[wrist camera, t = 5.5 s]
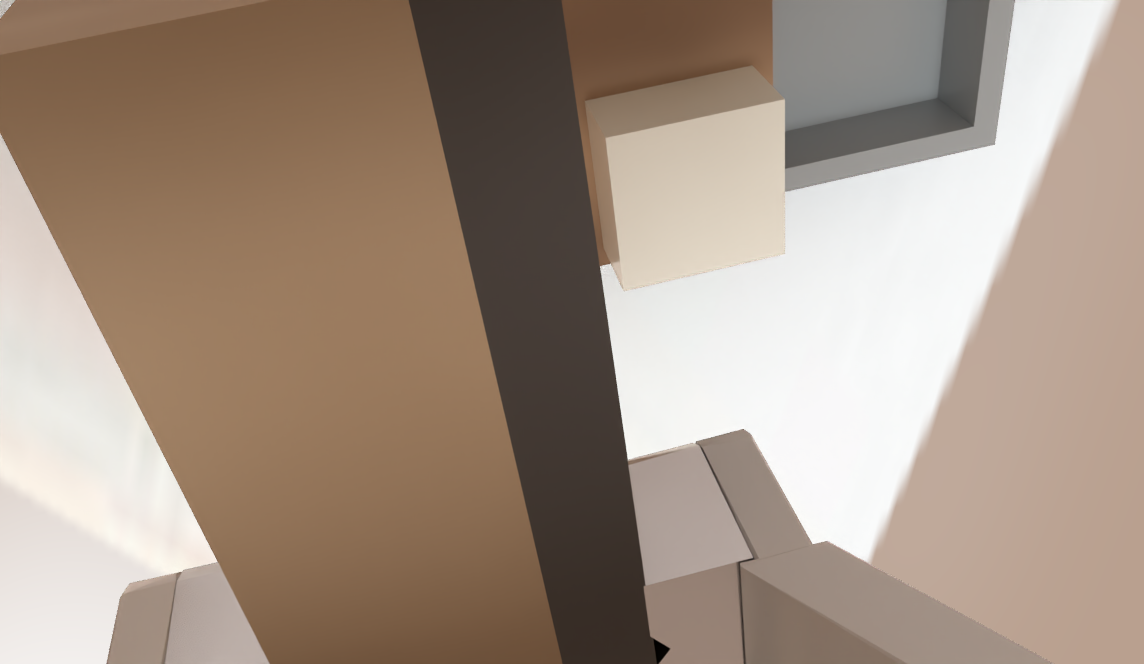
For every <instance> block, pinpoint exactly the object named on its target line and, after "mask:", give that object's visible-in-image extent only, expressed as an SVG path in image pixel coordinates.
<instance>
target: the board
mask: <svg viewBox="0 0 1144 664" xmlns="http://www.w3.org/2000/svg"><path fill="white" fill-rule="evenodd" d="M562 7H563V14H564V21H565V27H566V34H567V41H568V48H569V55H570V62H571V69H572V76H573V83H574V90H575V97H576V104H577V111H578V118H579V125H580V132H581V139H582V146H583V153H584V160H585V167H586V174H587V181H588V188H589V195H590V201H591V208H592V215H593V222H594V229H595V236H596V243H597V250H598V257H599V264H600V266H602V265H606V264H611V263H610V261H609V259H608V256H607V254H606V252H605V250H604V247H603V239H602V231H601V224H600V216H599V208H598V200H597V192H596V185H595V177H594V169H593V161H592V154H591V146H590V138H589V130H588V122H587V115H586V107H585V101H587V100H592V99H596V98H601V97H606V96H610V95H615V94H620V93H625V92H629V91H634V90H639V89H643V88H648V87H653V86H657V85H662V84H667V83H672V82H676V81H681V80H686V79H690V78H695V77H700V76H704V75H709V74H714V73H719V72H723V71H728V70H733V69H737V68H742V67H747V66H751V65H752V66H753V67H754V68H755V69H756V70H757V71H758V72H759V73H760V74H761V75H762V76H763V77H764V78H765V79H766V80H767V81H768V82H769V83H770V84H771V85H772V86H773V11H772V0H562Z"/></svg>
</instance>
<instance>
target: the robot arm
mask: <svg viewBox="0 0 1144 664" xmlns="http://www.w3.org/2000/svg"><path fill="white" fill-rule="evenodd" d="M628 466H629V473H630V480H631V487H632V494H633V501H634V508H635V515H636V522H637V529H638V536H639V543H640V550H641V556H642V563H643V570H644V577H645V584H646V585H645V586H643V587H644V594H645V601H646V609H647V616H648V623H649V630H650V637H652V638H653V640H654V647H655V654H656V661H657V664H1054V663H1052V662H1050V661H1048V660H1047V659H1045V658H1043V657H1041V656H1039V655H1037V654H1036V653H1034V652H1032V651H1030V650H1028V649H1026V648H1024V647H1023V646H1021V645H1019V644H1017V643H1015V642H1013V641H1011V640H1010V639H1008V638H1006V637H1004V636H1002V635H1000V634H998V633H997V632H995V631H993V630H991V629H989V628H987V627H985V626H984V625H982V624H980V623H978V622H976V621H975V620H973V619H971V618H969V617H967V616H965V615H963V614H962V613H960V612H958V611H956V610H954V609H952V608H950V607H948V606H947V605H945V604H943V603H941V602H939V601H938V600H936V599H934V598H932V597H930V596H928V595H926V594H925V593H923V592H921V591H919V590H917V589H915V588H913V587H912V586H910V585H908V584H906V583H904V582H902V581H900V580H899V579H897V578H894V577H893V576H891V575H889V574H888V573H886V572H884V571H882V570H880V569H878V568H877V567H875V566H873V565H871V564H869V563H867V562H865V561H864V560H862V559H860V558H858V557H856V556H854V555H853V554H851V553H849V552H847V551H845V550H843V549H841V548H840V547H838V546H836V545H834V544H832V543H830V542H828V541H825V542H821V543H817V544H812V542H811V541H810V539H809V537H808V535H807V534H806V532H805V530H804V528H803V526H802V525H801V523H800V521H799V519H798V517H797V516H796V514H795V512H794V510H793V508H792V507H791V505H790V503H789V501H788V500H787V498H786V496H785V494H784V492H783V491H782V489H781V487H780V485H779V483H778V482H777V480H776V478H775V476H774V474H773V473H772V471H771V469H770V467H769V466H768V464H767V462H766V460H765V458H764V457H763V455H762V453H761V451H760V449H759V448H758V446H757V444H756V442H755V440H754V439H753V437H752V435H751V434H750V433H748V432H747V431H746V430H744V429H741V430H738V431H734V432H730V433H726V434H723V435H719V436H715V437H711V438H708V439H704V440H700V441H696V444H694V443H690V444H686V445H682V446H679V447H675V448H671V449H667V450H663V451H659V452H656V453H652V454H648V455H644V456H640V457H637V458H633V459H629V460H628ZM107 664H269V662H268V660H267V658H266V656H265V654H264V652H263V650H262V648H261V646H260V644H259V642H258V640H257V638H256V636H255V634H254V632H253V630H252V628H251V626H250V624H249V622H248V620H247V618H246V616H245V614H244V613H243V611H242V609H241V607H240V605H239V603H238V601H237V599H236V597H235V595H234V593H233V591H232V589H231V587H230V585H229V583H228V581H227V579H226V577H225V575H224V573H223V571H222V569H221V567H220V565H219V563H218V562H216V563H212V564H208V565H203V566H199V567H194V568H190V569H186V570H183V572H178V573H174V574H169V575H165V576H160V577H156V578H151V579H147V580H142V581H137V582H133V583H130V584H129V585H128V587H127V588H126V589H125V591H124V593H123V594H122V596H121V597H120V601H119V606H118V610H117V615H116V620H115V625H114V630H113V635H112V639H111V644H110V649H109V654H108V659H107Z"/></svg>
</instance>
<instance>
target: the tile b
mask: <svg viewBox="0 0 1144 664" xmlns="http://www.w3.org/2000/svg"><path fill="white" fill-rule="evenodd" d="M585 107H586V115H587V122H588V130H589V138H590V146H591V154H592V161H593V169H594V177H595V185H596V192H597V200H598V208H599V216H600V224H601V231H602V239H603V247H604V250H605V252H606V254H607V256H608V259H609V261H610V263H611V265H612V267H613V269H614V272H615V274H616V276H617V278H618V280H619V282H620V285H621V287H622V289H623V291H627V290H631V289H636V288H640V287H644V286H649V285H653V284H657V283H662V282H666V281H670V280H674V279H679V278H683V277H687V276H692V275H696V274H700V273H705V272H709V271H713V270H718V269H722V268H726V267H731V266H735V265H739V264H744V263H748V262H752V261H756V260H761V259H765V258H769V257H774V256H778V255H782V254H785V99H784V98H783V97H782V96H781V95H780V94H779V93H778V92H777V90H776V89H775V88H774V87H773V86H772V85H771V84H770V83H769V82H768V81H767V80H766V79H765V78H764V77H763V76H762V75H761V74H760V73H759V72H758V71H757V70H756V69H755V68H754V67H753V66H752V65H751V66H747V67H742V68H737V69H733V70H728V71H723V72H719V73H714V74H709V75H704V76H700V77H695V78H690V79H686V80H681V81H676V82H672V83H667V84H662V85H657V86H653V87H648V88H643V89H639V90H634V91H629V92H625V93H620V94H615V95H610V96H606V97H601V98H596V99H592V100H587V101H585Z"/></svg>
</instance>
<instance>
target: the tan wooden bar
mask: <svg viewBox="0 0 1144 664" xmlns="http://www.w3.org/2000/svg"><path fill="white" fill-rule="evenodd" d="M0 133H1V135H2V137H3V139H4V141H5V143H6V145H7V147H8V149H9V151H10V153H11V155H12V157H13V159H14V161H15V163H16V165H17V167H18V169H19V171H20V173H21V175H22V177H23V179H24V181H25V183H26V185H27V187H28V189H29V190H30V192H31V194H32V196H33V198H34V200H35V202H36V204H37V206H38V208H39V210H40V212H41V214H42V216H43V218H44V220H45V222H46V224H47V226H48V228H49V230H50V232H51V234H52V236H53V238H54V240H55V242H56V244H57V246H58V248H59V250H60V252H61V254H62V256H63V258H64V260H65V261H66V263H67V265H68V267H69V269H70V271H71V273H72V275H73V277H74V279H75V281H76V283H77V285H78V287H79V289H80V291H81V293H82V295H83V297H84V299H85V301H86V303H87V305H88V307H89V309H90V311H91V313H92V315H93V317H94V319H95V321H96V323H97V325H98V327H99V329H100V331H101V332H102V334H103V336H104V338H105V340H106V342H107V344H108V346H109V348H110V350H111V352H112V354H113V356H114V358H115V360H116V362H117V364H118V366H119V368H120V370H121V372H122V374H123V376H124V378H125V380H126V382H127V384H128V386H129V388H130V390H131V392H132V394H133V396H134V398H135V400H136V401H137V403H138V405H139V407H140V409H141V411H142V413H143V415H144V417H145V419H146V421H147V423H148V425H149V427H150V429H151V431H152V433H153V435H154V437H155V439H156V441H157V443H158V445H159V447H160V449H161V451H162V453H163V455H164V457H165V459H166V461H167V463H168V465H169V467H170V469H171V471H172V472H173V474H174V476H175V478H176V480H177V482H178V484H179V486H180V488H181V490H182V492H183V494H184V496H185V498H186V500H187V502H188V504H189V506H190V508H191V510H192V512H193V514H194V516H195V518H196V520H197V522H198V524H199V526H200V528H201V530H202V532H203V534H204V536H205V538H206V540H207V542H208V543H209V545H210V547H211V549H212V551H213V553H214V555H215V557H216V559H217V561H218V563H219V565H220V567H221V569H222V571H223V573H224V575H225V577H226V579H227V581H228V583H229V585H230V587H231V589H232V591H233V593H234V595H235V597H236V599H237V601H238V603H239V605H240V607H241V609H242V611H243V613H244V614H245V616H246V618H247V620H248V622H249V624H250V626H251V628H252V630H253V632H254V634H255V636H256V638H257V640H258V642H259V644H260V646H261V648H262V650H263V652H264V654H265V656H266V658H267V660H268V662H269V664H657V661H656V654H655V647H654V640H653V638H652V637H650V630H649V623H648V616H647V609H646V601H645V594H644V587H643V586H645V585H646V584H645V577H644V570H643V563H642V556H641V550H640V543H639V536H638V529H637V522H636V515H635V508H634V501H633V494H632V487H631V480H630V473H629V466H628V459H627V452H626V445H625V438H624V431H623V424H622V417H621V410H620V403H619V396H618V389H617V382H616V375H615V369H614V362H613V355H612V348H611V341H610V334H609V327H608V320H607V313H606V306H605V299H604V292H603V285H602V278H601V271H600V264H599V257H598V250H597V243H596V236H595V229H594V222H593V215H592V208H591V201H590V195H589V188H588V181H587V174H586V167H585V160H584V153H583V146H582V139H581V132H580V125H579V118H578V111H577V104H576V97H575V90H574V83H573V76H572V69H571V62H570V55H569V48H568V41H567V34H566V27H565V21H564V14H563V7H562V0H15V2H14V3H13V4H12V5H11V6H10V8H9V9H8V10H7V11H6V12H5V14H4V15H3V16H2V17H1V19H0Z"/></svg>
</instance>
